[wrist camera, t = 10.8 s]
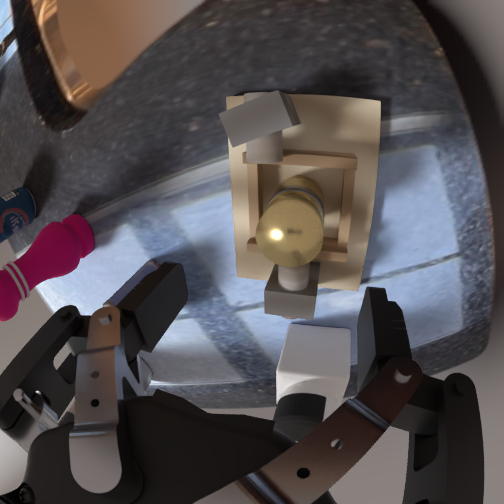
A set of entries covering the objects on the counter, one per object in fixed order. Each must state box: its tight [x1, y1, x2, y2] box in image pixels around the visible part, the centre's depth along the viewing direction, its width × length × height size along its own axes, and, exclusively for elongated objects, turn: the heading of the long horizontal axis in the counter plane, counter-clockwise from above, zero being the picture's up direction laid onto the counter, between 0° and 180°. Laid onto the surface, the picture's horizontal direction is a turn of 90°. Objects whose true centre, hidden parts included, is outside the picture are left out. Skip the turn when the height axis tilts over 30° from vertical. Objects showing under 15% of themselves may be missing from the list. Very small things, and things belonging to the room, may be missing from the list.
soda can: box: [0, 188, 36, 243], centre depth 29 cm, size 7×7×12 cm
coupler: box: [256, 176, 325, 267], centre depth 19 cm, size 4×4×7 cm
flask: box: [103, 260, 160, 307], centre depth 29 cm, size 9×3×11 cm, turn 163°
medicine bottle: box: [273, 324, 351, 441], centre depth 25 cm, size 7×7×12 cm
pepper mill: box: [0, 214, 95, 321], centre depth 25 cm, size 7×7×20 cm
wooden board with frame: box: [219, 90, 381, 320], centre depth 20 cm, size 17×12×6 cm
